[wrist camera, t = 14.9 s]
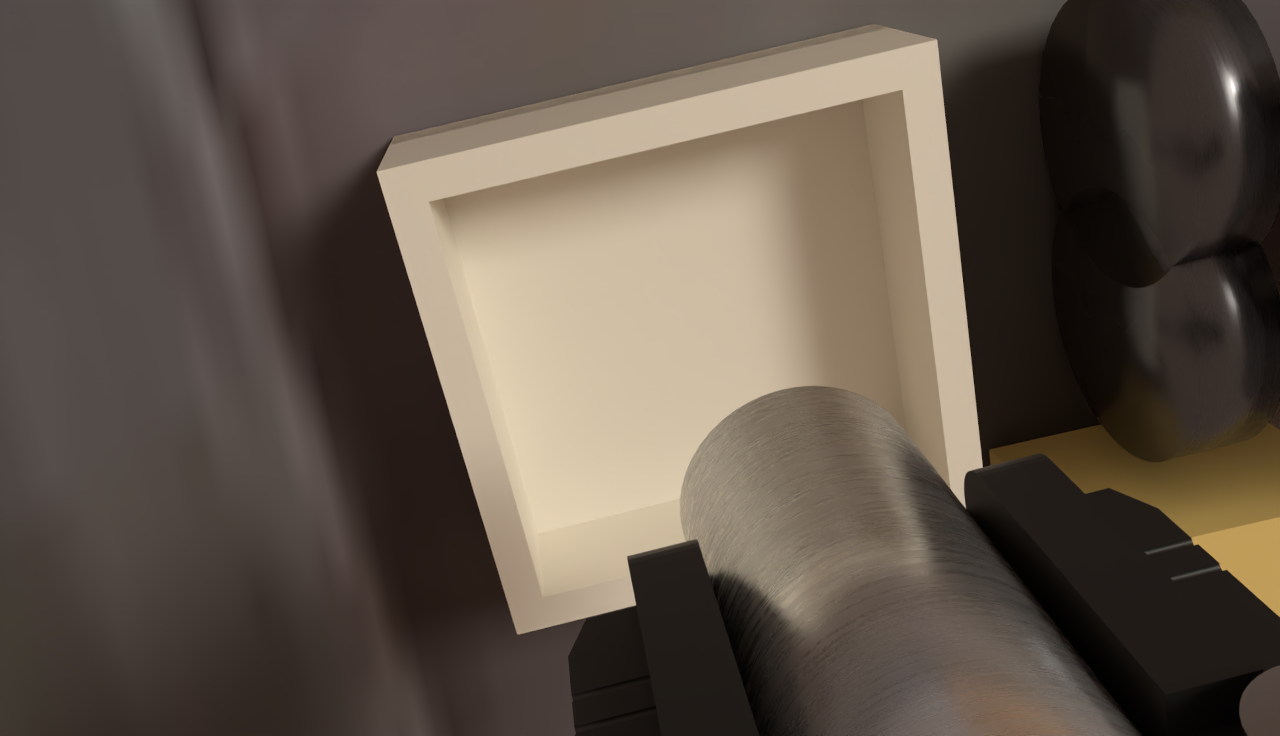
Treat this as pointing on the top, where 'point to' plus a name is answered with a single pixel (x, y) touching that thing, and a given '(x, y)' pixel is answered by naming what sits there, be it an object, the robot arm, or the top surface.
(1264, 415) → the trolley
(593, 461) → the tray
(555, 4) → the top surface
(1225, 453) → the block
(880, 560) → the pin
